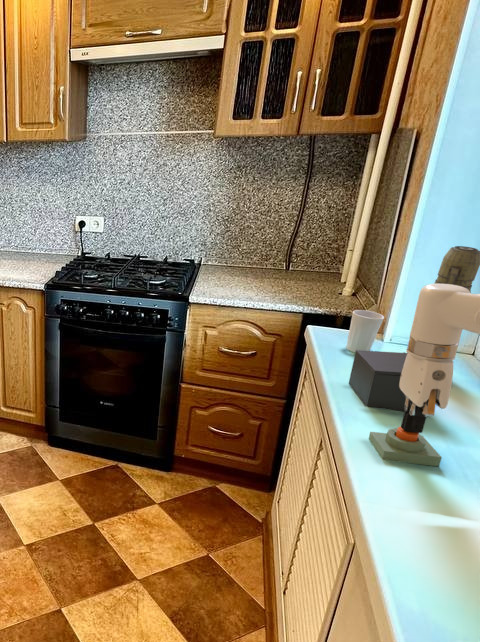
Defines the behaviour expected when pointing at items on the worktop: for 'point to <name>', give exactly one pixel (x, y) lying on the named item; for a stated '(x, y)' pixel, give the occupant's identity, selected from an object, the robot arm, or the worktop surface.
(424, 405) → the robot arm
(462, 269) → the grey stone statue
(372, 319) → the cup
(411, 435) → the button
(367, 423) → the worktop surface
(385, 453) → the block
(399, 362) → the box lid
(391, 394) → the dark grey lidded box
